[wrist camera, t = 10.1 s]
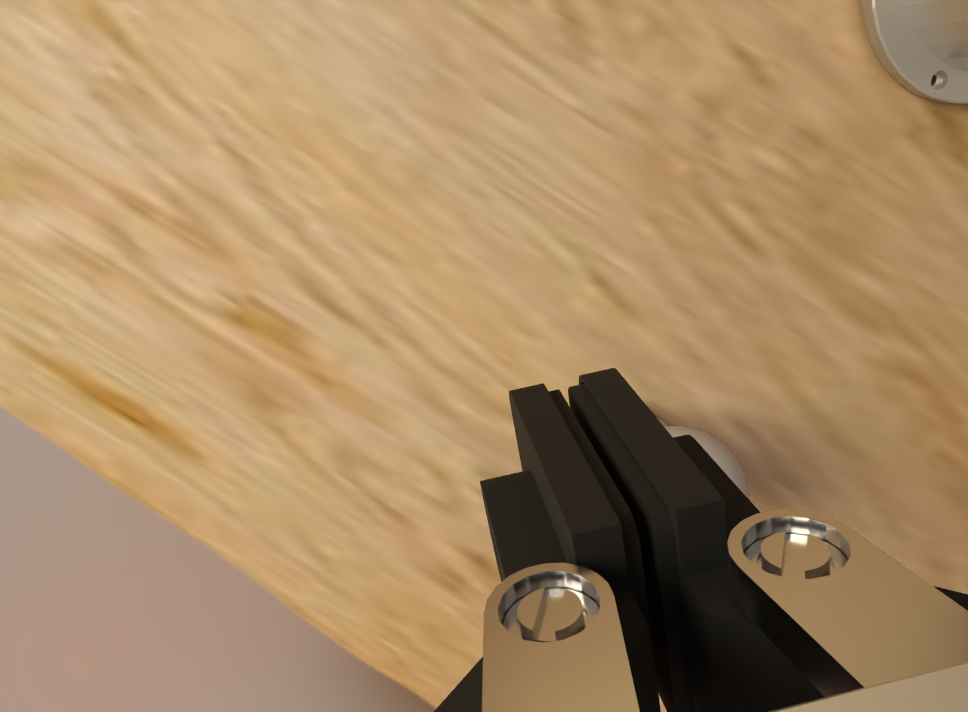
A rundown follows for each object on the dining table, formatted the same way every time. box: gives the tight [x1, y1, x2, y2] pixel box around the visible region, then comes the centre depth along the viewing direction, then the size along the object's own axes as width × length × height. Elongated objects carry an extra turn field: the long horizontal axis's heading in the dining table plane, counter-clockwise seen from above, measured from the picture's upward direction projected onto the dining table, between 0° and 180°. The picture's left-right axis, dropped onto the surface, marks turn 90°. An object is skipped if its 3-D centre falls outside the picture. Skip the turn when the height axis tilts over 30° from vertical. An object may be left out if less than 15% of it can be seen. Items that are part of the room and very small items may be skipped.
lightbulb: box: [657, 418, 749, 498], centre depth 37 cm, size 6×6×11 cm
